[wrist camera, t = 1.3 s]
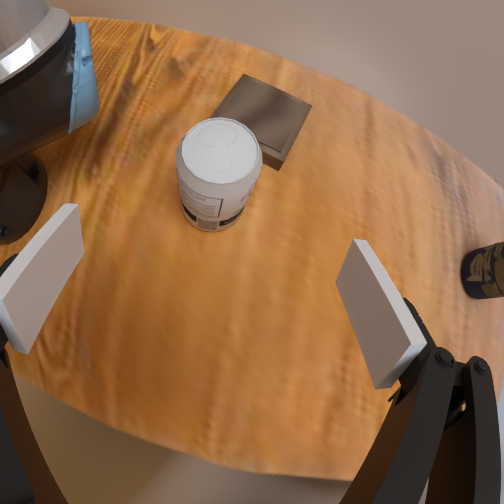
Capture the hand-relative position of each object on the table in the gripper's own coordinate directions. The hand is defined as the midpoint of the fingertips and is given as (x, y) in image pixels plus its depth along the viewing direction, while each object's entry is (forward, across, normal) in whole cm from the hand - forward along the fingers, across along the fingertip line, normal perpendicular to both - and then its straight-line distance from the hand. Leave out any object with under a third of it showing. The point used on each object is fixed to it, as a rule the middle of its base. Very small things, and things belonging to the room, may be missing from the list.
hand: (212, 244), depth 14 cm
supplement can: (+26, 0, -10) cm, 28 cm away
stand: (+36, +5, 0) cm, 36 cm away
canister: (+23, +49, -14) cm, 56 cm away
